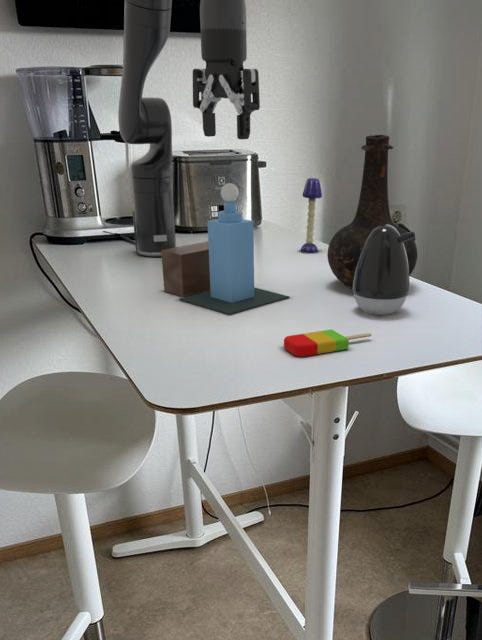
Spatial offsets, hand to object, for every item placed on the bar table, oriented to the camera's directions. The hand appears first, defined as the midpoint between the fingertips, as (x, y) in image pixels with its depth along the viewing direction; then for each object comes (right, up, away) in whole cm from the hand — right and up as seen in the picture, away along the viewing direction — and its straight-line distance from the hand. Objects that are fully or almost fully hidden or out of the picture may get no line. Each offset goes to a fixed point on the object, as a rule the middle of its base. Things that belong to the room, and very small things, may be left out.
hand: (226, 137), depth 122 cm
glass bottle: (+28, -20, +22) cm, 41 cm away
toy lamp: (+17, -3, +51) cm, 53 cm away
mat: (+1, -25, +13) cm, 28 cm away
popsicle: (+18, -39, -11) cm, 44 cm away
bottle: (-3, -22, +15) cm, 27 cm away
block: (-7, -21, +19) cm, 30 cm away
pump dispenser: (+28, -29, +6) cm, 41 cm away
